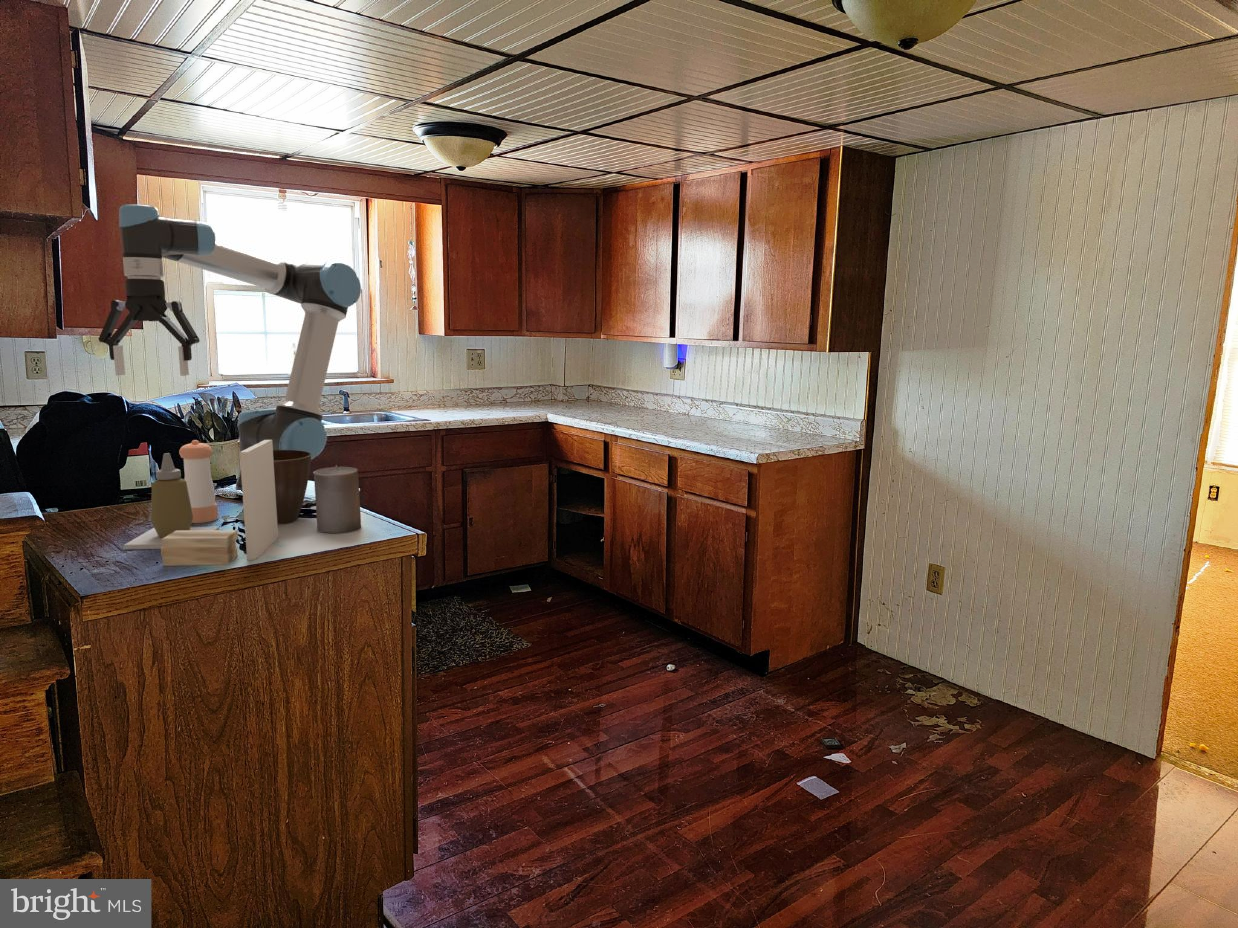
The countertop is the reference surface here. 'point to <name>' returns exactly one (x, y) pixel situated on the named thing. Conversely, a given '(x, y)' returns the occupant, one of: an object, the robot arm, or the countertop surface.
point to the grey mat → (154, 539)
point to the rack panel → (259, 498)
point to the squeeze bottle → (170, 500)
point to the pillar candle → (337, 499)
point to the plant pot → (290, 482)
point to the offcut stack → (199, 547)
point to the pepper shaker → (199, 481)
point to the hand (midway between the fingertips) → (152, 375)
